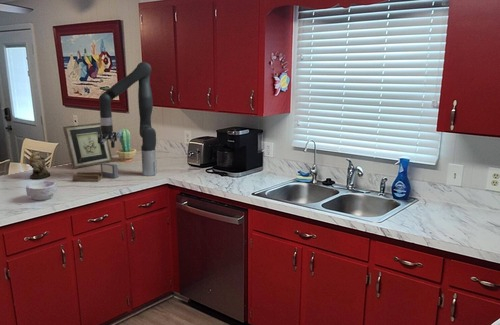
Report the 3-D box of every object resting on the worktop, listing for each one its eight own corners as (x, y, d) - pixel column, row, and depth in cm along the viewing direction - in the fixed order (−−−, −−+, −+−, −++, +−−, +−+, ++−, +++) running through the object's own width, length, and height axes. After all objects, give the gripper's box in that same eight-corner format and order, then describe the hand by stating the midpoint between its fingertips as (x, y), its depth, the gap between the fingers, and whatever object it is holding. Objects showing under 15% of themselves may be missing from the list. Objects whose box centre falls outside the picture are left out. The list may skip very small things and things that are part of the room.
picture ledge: (78, 177, 273) (77, 171, 272) (102, 177, 274) (102, 171, 273) (72, 181, 263) (72, 175, 262) (98, 181, 264) (97, 175, 263)
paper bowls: (20, 200, 226) (19, 186, 224) (43, 192, 240) (42, 179, 238) (41, 203, 220) (40, 189, 219) (63, 196, 234) (62, 182, 233)
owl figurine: (47, 179, 268) (44, 154, 264) (27, 181, 265) (24, 155, 261) (52, 172, 285) (49, 148, 281) (33, 174, 282) (30, 149, 278)
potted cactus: (118, 158, 332) (116, 127, 327) (138, 158, 334) (136, 127, 328) (114, 162, 317) (112, 130, 312) (135, 162, 319) (133, 130, 313)
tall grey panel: (104, 175, 280) (104, 162, 278) (118, 177, 275) (117, 164, 273) (101, 176, 277) (100, 163, 275) (114, 178, 272) (113, 165, 270)
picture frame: (73, 169, 295) (69, 127, 289) (66, 167, 301) (62, 126, 294) (112, 161, 321) (110, 123, 314) (105, 160, 326) (102, 122, 320)
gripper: (110, 122, 276) (111, 146, 280) (93, 125, 264) (95, 150, 267) (118, 123, 273) (120, 147, 276) (102, 126, 260) (103, 151, 264)
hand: (107, 148), depth 272 cm, fingers open, 8 cm apart
